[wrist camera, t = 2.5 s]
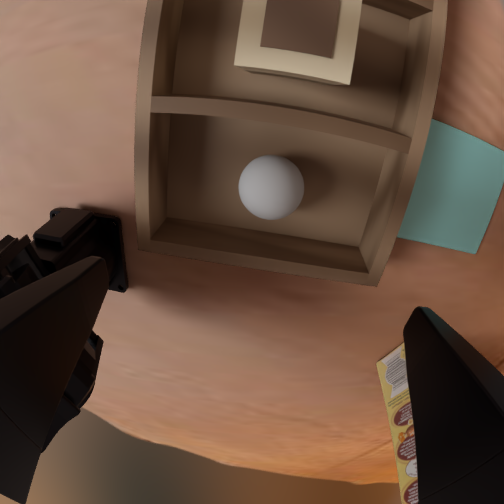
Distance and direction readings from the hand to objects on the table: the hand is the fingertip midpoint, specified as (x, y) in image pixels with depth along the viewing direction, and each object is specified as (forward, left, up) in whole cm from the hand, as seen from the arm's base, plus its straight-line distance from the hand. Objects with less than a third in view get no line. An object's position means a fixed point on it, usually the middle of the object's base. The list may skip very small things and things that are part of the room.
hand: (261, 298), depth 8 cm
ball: (0, 0, -11) cm, 11 cm away
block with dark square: (+8, 0, -11) cm, 13 cm away
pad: (+2, -12, -11) cm, 16 cm away
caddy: (+8, 0, -11) cm, 13 cm away
